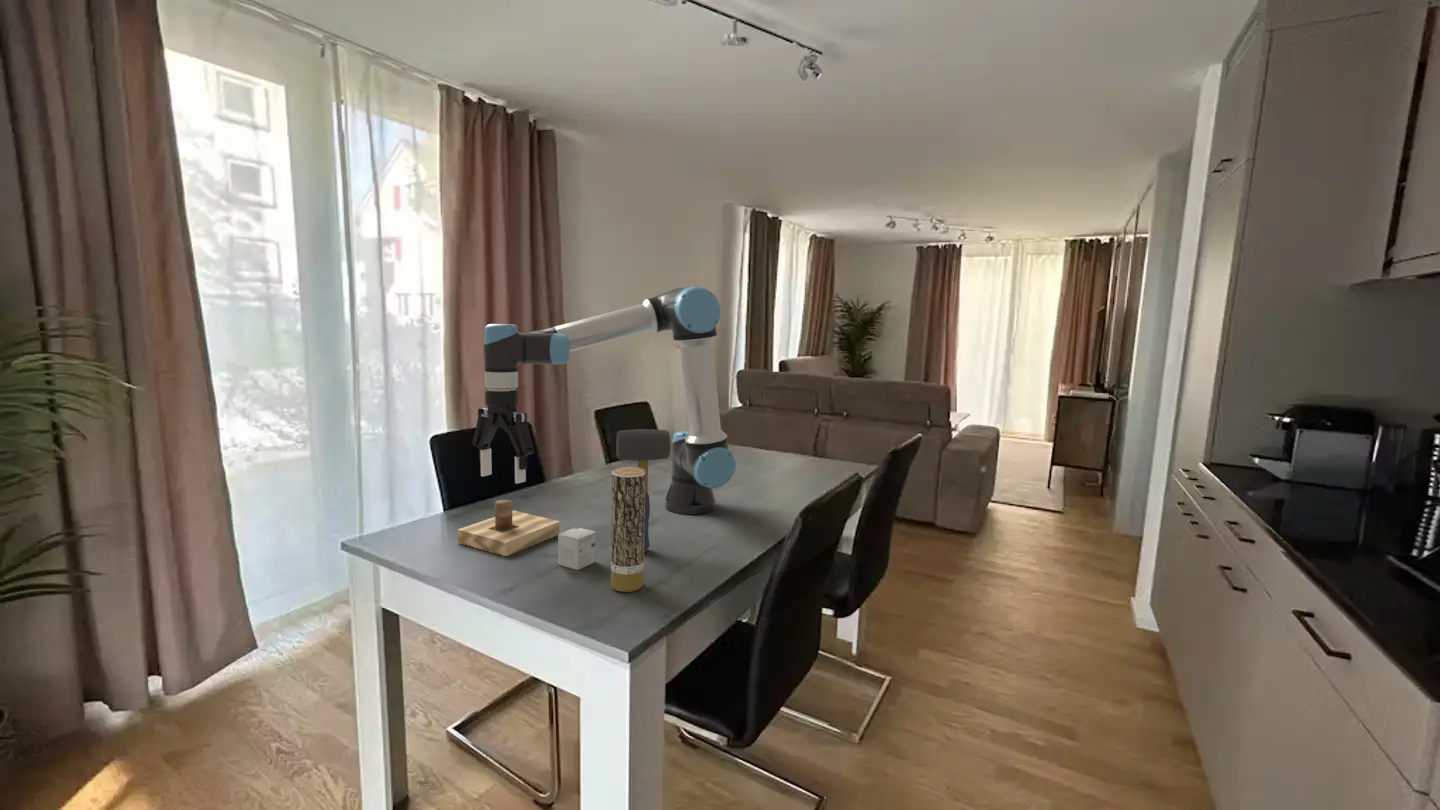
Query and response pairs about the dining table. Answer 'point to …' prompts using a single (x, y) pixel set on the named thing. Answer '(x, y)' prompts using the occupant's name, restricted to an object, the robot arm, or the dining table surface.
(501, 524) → the peg
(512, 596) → the dining table surface
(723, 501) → the dining table surface
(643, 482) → the paper tube
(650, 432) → the rubber mallet
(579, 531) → the skincare box
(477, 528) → the board
